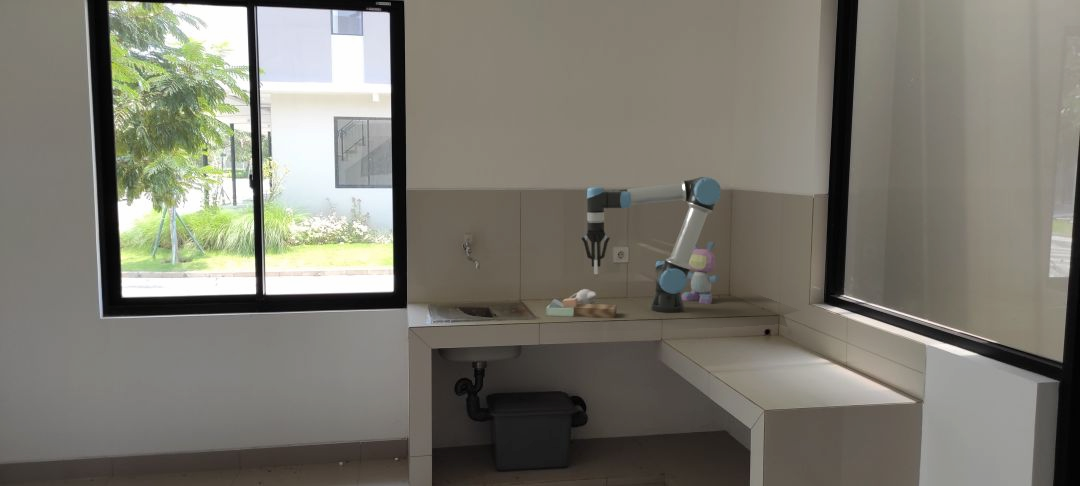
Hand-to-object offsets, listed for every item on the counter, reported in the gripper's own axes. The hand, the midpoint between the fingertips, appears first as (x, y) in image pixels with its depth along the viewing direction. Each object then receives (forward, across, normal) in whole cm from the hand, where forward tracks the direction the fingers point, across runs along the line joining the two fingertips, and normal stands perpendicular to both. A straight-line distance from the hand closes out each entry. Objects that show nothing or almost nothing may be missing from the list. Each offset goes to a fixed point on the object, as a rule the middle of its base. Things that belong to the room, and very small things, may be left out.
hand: (596, 273), depth 355 cm
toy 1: (+19, +10, -18) cm, 28 cm away
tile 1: (+14, +17, 0) cm, 22 cm away
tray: (+19, +16, 0) cm, 25 cm away
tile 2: (+15, +12, 0) cm, 19 cm away
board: (+19, +1, 0) cm, 19 cm away
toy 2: (+20, -44, -47) cm, 68 cm away
